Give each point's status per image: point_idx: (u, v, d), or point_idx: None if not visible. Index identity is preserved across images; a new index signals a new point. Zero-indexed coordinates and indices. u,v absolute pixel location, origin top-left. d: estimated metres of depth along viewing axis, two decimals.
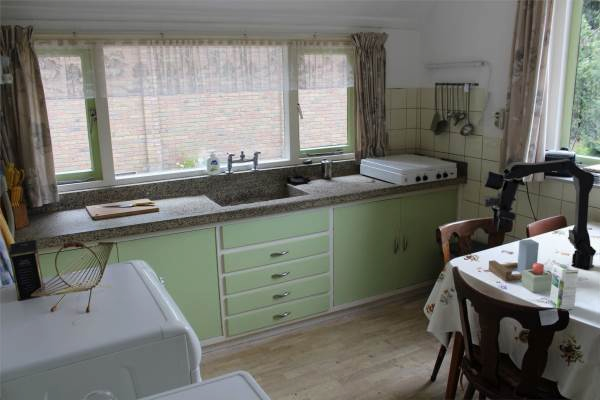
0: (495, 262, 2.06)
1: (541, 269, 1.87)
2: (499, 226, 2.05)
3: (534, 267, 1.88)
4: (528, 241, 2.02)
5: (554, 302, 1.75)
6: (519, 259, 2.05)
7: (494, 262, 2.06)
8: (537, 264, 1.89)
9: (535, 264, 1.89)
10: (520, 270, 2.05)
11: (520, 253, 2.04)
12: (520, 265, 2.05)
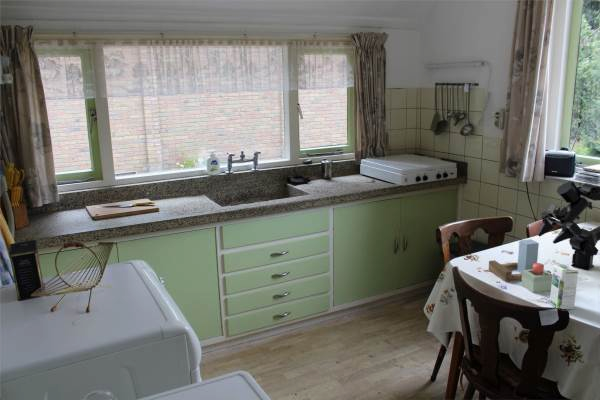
0: (495, 262, 2.06)
1: (541, 269, 1.87)
2: (559, 237, 1.97)
3: (534, 267, 1.88)
4: (528, 241, 2.02)
5: (554, 302, 1.75)
6: (519, 259, 2.05)
7: (494, 262, 2.06)
8: (537, 264, 1.89)
9: (535, 264, 1.89)
10: (520, 270, 2.05)
11: (520, 253, 2.04)
12: (520, 265, 2.05)
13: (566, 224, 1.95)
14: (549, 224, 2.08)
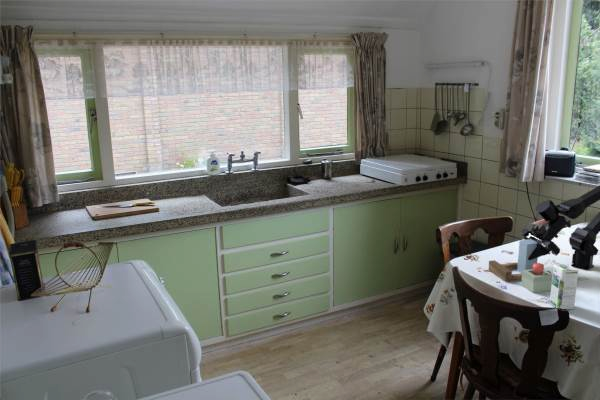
0: (495, 262, 2.06)
1: (541, 269, 1.87)
2: (534, 254, 1.99)
3: (534, 267, 1.88)
4: (528, 241, 2.02)
5: (554, 302, 1.75)
6: (519, 259, 2.05)
7: (494, 262, 2.06)
8: (537, 264, 1.89)
9: (535, 264, 1.89)
10: (520, 270, 2.05)
11: (520, 253, 2.04)
12: (520, 265, 2.05)
13: (544, 243, 1.96)
14: None
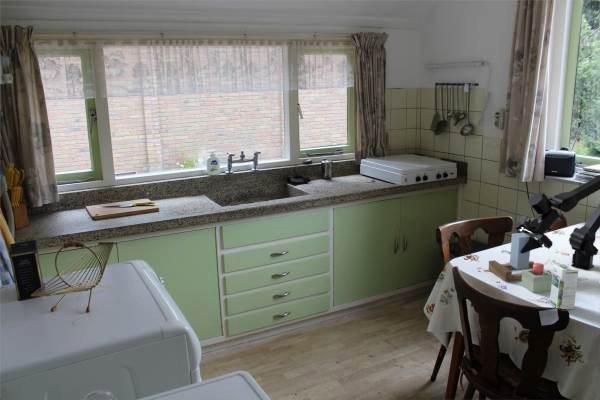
0: (495, 262, 2.06)
1: (541, 269, 1.87)
2: (526, 247, 1.98)
3: (534, 267, 1.88)
4: (520, 234, 2.01)
5: (554, 302, 1.75)
6: (511, 253, 2.04)
7: (494, 262, 2.06)
8: (537, 264, 1.89)
9: (535, 264, 1.89)
10: (512, 264, 2.03)
11: (512, 247, 2.03)
12: (512, 259, 2.03)
13: (536, 236, 1.94)
14: None
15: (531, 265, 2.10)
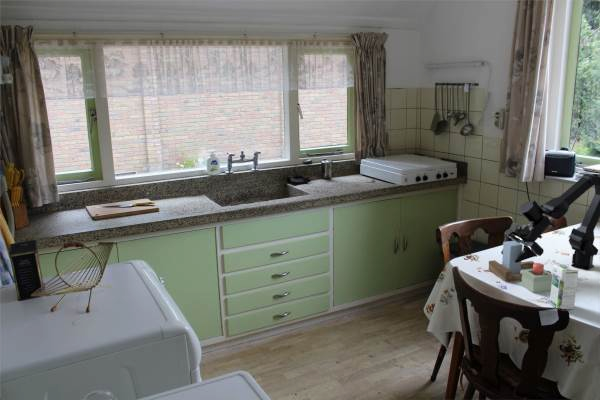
0: (495, 262, 2.06)
1: (541, 269, 1.87)
2: (521, 256, 1.96)
3: (534, 267, 1.88)
4: (512, 243, 2.01)
5: (554, 302, 1.75)
6: (503, 261, 2.04)
7: (494, 262, 2.06)
8: (537, 264, 1.89)
9: (535, 264, 1.89)
10: None
11: (504, 255, 2.03)
12: None
13: (527, 243, 1.94)
14: None
15: (531, 265, 2.10)
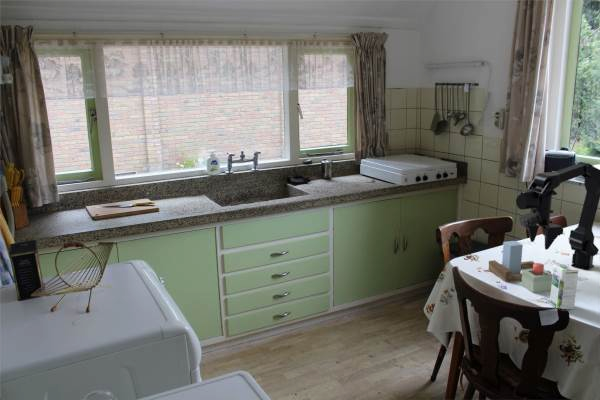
0: (495, 262, 2.06)
1: (541, 269, 1.87)
2: (547, 243, 1.94)
3: (534, 267, 1.88)
4: (512, 243, 2.01)
5: (554, 302, 1.75)
6: (503, 261, 2.04)
7: (494, 262, 2.06)
8: (537, 264, 1.89)
9: (535, 264, 1.89)
10: None
11: (504, 255, 2.03)
12: None
13: (544, 231, 1.91)
14: (533, 226, 2.03)
15: (531, 265, 2.10)
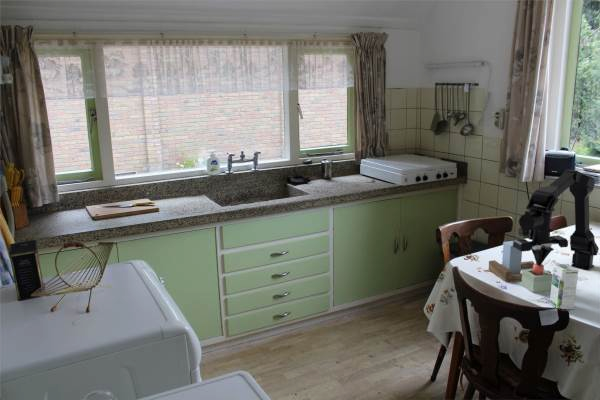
0: (495, 262, 2.06)
1: (541, 269, 1.87)
2: (535, 257, 1.88)
3: (534, 267, 1.88)
4: (512, 243, 2.01)
5: (554, 302, 1.75)
6: (503, 261, 2.04)
7: (494, 262, 2.06)
8: None
9: (535, 264, 1.89)
10: None
11: (504, 255, 2.03)
12: None
13: None
14: (542, 249, 1.87)
15: (531, 265, 2.10)
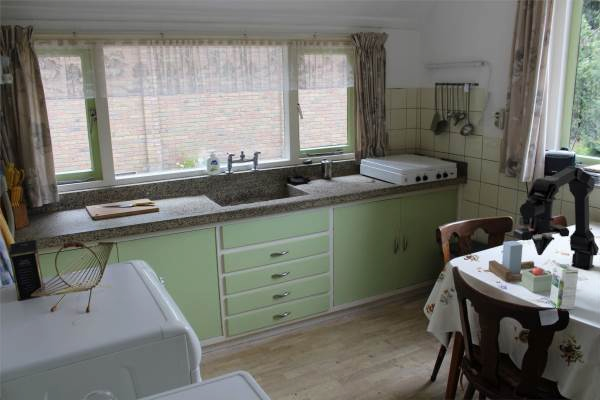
0: (495, 262, 2.06)
1: (541, 274, 1.88)
2: (536, 247, 1.87)
3: (534, 272, 1.89)
4: (512, 243, 2.01)
5: (554, 302, 1.75)
6: (503, 261, 2.04)
7: (494, 262, 2.06)
8: (536, 268, 1.90)
9: (535, 269, 1.90)
10: None
11: (504, 255, 2.03)
12: None
13: None
14: (543, 238, 1.86)
15: (531, 265, 2.10)
